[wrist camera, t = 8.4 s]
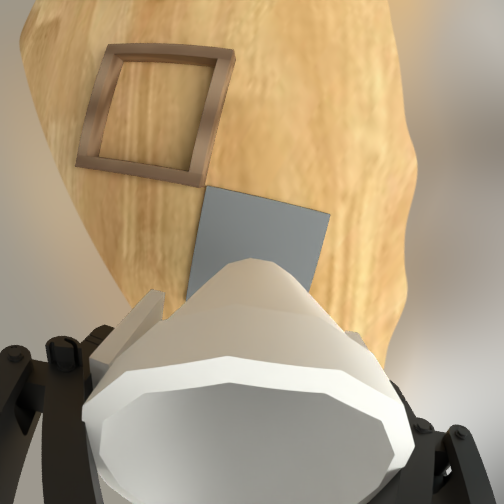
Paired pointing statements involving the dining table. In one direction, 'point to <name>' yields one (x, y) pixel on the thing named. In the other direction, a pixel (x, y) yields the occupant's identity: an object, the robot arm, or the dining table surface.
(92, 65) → the dining table surface
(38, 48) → the dining table surface
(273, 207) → the mat
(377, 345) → the dining table surface
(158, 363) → the foam cup
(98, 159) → the frame
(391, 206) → the dining table surface
